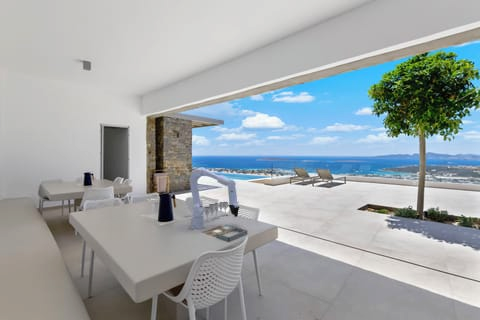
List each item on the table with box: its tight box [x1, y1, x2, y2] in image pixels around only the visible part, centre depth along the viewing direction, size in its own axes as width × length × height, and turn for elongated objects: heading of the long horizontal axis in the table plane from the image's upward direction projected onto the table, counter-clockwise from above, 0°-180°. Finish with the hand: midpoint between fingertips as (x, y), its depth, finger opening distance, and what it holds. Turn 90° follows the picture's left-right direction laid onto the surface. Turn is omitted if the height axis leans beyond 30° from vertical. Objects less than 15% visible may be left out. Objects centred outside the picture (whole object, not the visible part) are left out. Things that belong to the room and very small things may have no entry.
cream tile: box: [213, 230, 222, 235], centre depth 152 cm, size 4×4×2 cm
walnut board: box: [201, 225, 235, 238], centre depth 157 cm, size 15×18×1 cm
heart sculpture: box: [185, 196, 203, 220], centre depth 191 cm, size 16×5×18 cm, turn 60°
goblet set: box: [203, 201, 229, 224], centre depth 191 cm, size 28×6×13 cm, turn 144°
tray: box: [215, 226, 248, 243], centre depth 148 cm, size 11×18×4 cm, turn 139°
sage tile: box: [222, 226, 232, 232], centre depth 158 cm, size 4×4×2 cm
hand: (234, 215), depth 164 cm, fingers open, 7 cm apart
